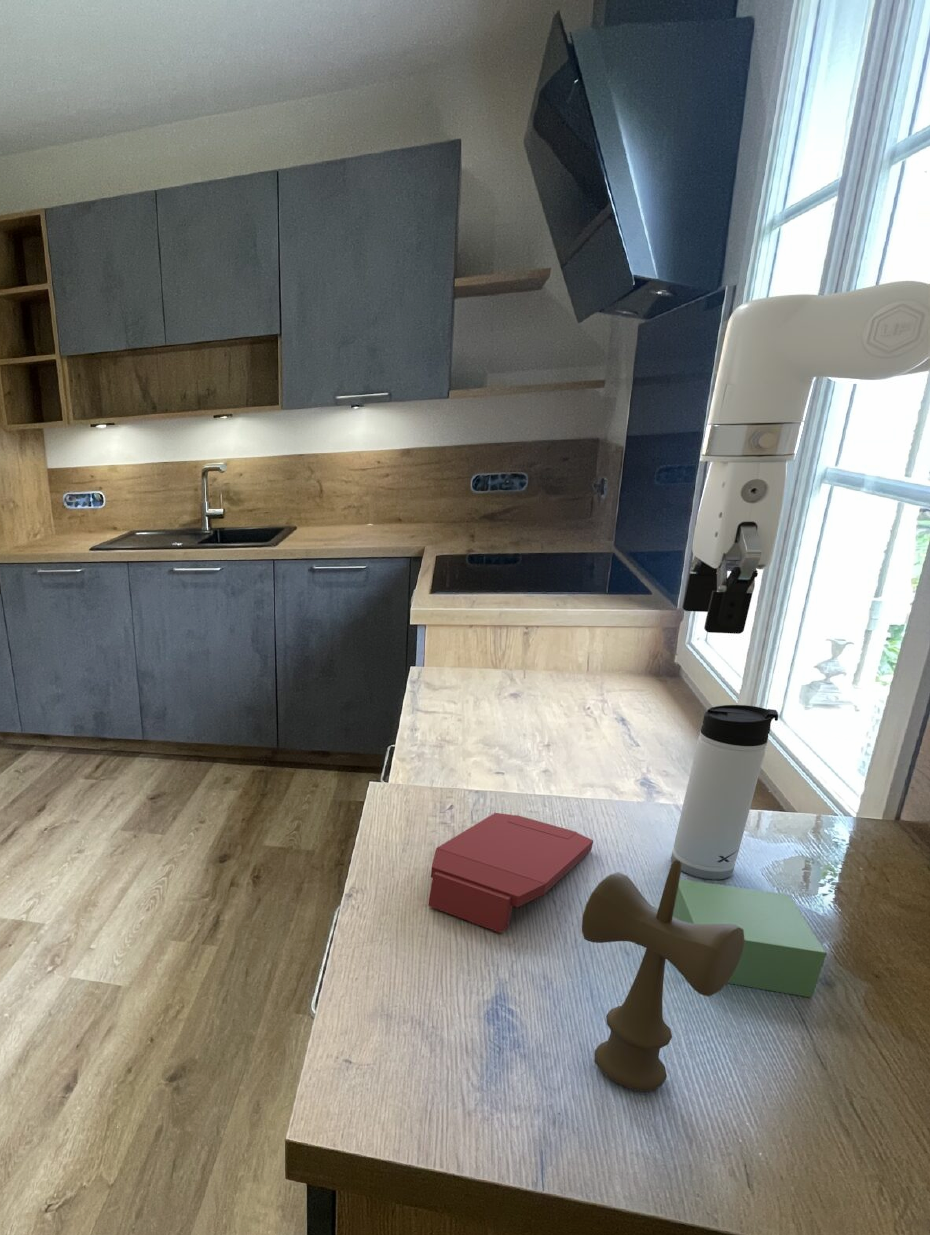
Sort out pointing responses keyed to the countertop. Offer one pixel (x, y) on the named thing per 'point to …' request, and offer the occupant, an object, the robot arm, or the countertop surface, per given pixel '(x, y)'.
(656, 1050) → the kendama
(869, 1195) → the countertop surface
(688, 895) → the green block
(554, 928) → the countertop surface
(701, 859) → the travel mug
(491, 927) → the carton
